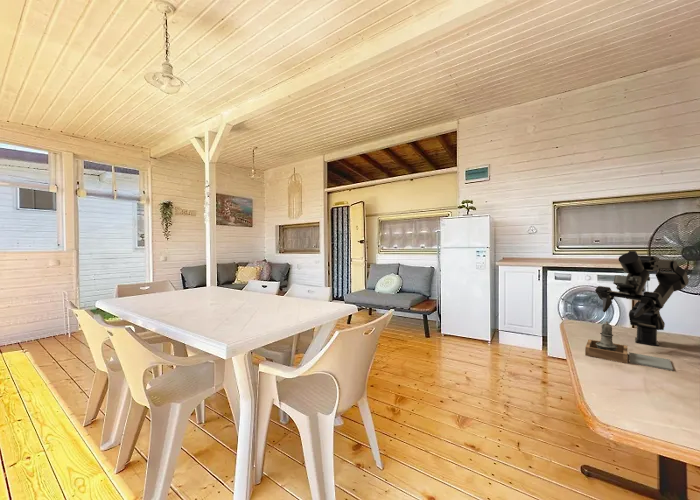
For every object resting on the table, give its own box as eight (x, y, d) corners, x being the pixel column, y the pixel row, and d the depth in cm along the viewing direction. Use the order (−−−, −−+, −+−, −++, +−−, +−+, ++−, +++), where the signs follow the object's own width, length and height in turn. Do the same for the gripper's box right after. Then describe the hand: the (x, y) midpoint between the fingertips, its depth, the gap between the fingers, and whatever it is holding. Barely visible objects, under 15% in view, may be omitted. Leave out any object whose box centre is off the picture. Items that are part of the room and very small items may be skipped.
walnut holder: (588, 347, 117) (588, 339, 117) (627, 354, 109) (627, 345, 109) (585, 355, 109) (585, 347, 108) (627, 363, 101) (627, 354, 101)
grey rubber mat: (629, 353, 109) (629, 352, 109) (669, 361, 103) (669, 359, 103) (629, 362, 102) (629, 360, 102) (672, 371, 95) (672, 369, 95)
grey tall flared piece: (621, 358, 105) (622, 323, 105) (601, 357, 107) (602, 323, 106) (610, 352, 111) (611, 319, 111) (592, 351, 112) (592, 318, 112)
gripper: (598, 265, 122) (581, 295, 117) (661, 269, 105) (644, 305, 101) (608, 284, 125) (592, 313, 121) (671, 290, 108) (655, 325, 104)
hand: (618, 314), depth 112 cm, fingers open, 9 cm apart
